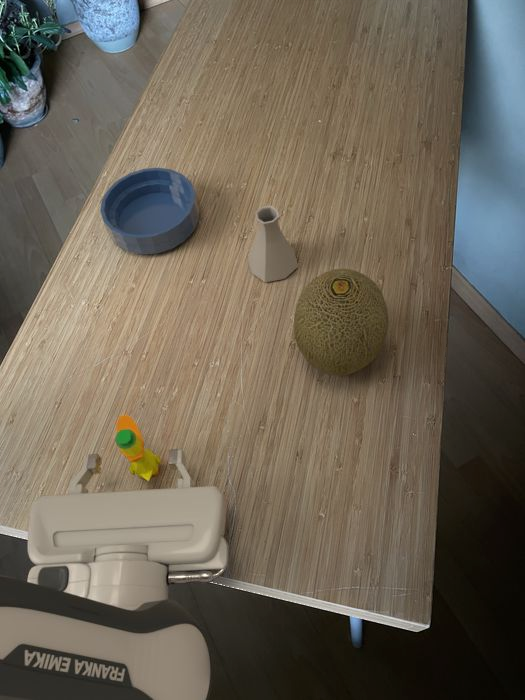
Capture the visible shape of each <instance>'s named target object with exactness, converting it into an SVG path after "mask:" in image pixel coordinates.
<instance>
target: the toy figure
mask: <svg viewBox="0 0 525 700" xmlns="http://www.w3.org/2000/svg"><path fill="white" fill-rule="evenodd" d="M115 429H116V431H115V432H116V435H115V436H116V437H115V443H116V446H117V447H118V448H119V452H120V453H121V454H122V455H123V456H125V458H126V459H127V460H128V461H129V462H130V465H129V467H128V471H129V473H130V474H131V476H136V475H137V476H138V477H139V479H145V480H146V481H147V482H150V479H151V478H152V476H155V477H156V476H158V475H160V474H159V465H160V466H161V465H162V460H161V458H160V455H159V454H158V453H156V455H155V453H153V452H152V450H151V449H149V448H147V449H145V442H144V438H143V435H142V433H141V431H140V428H139V426H138V424H137V423H136V422H135V420H134V419H133V417H131V416H130V415H128V414H127V413H126V414H123V415H121V416H118V419H117V422H116V428H115Z"/></svg>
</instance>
